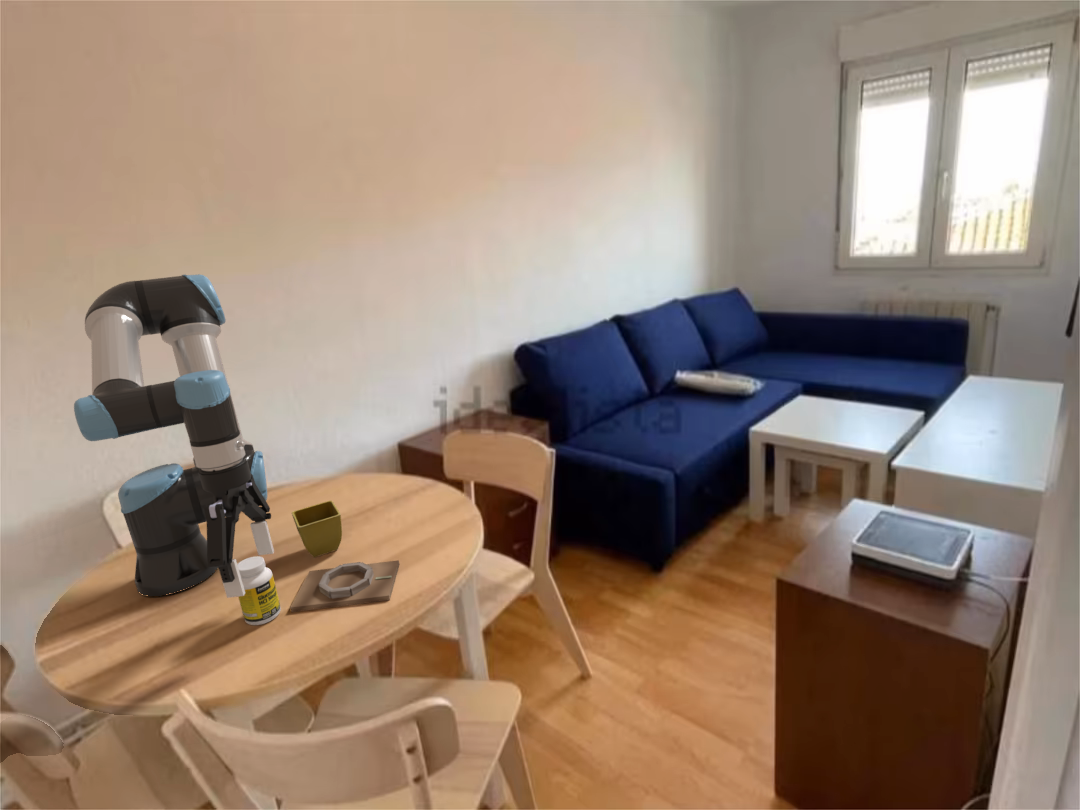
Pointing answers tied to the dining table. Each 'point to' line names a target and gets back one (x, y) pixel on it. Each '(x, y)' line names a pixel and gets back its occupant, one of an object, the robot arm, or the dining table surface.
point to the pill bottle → (258, 592)
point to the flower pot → (319, 527)
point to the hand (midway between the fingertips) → (252, 573)
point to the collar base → (346, 585)
